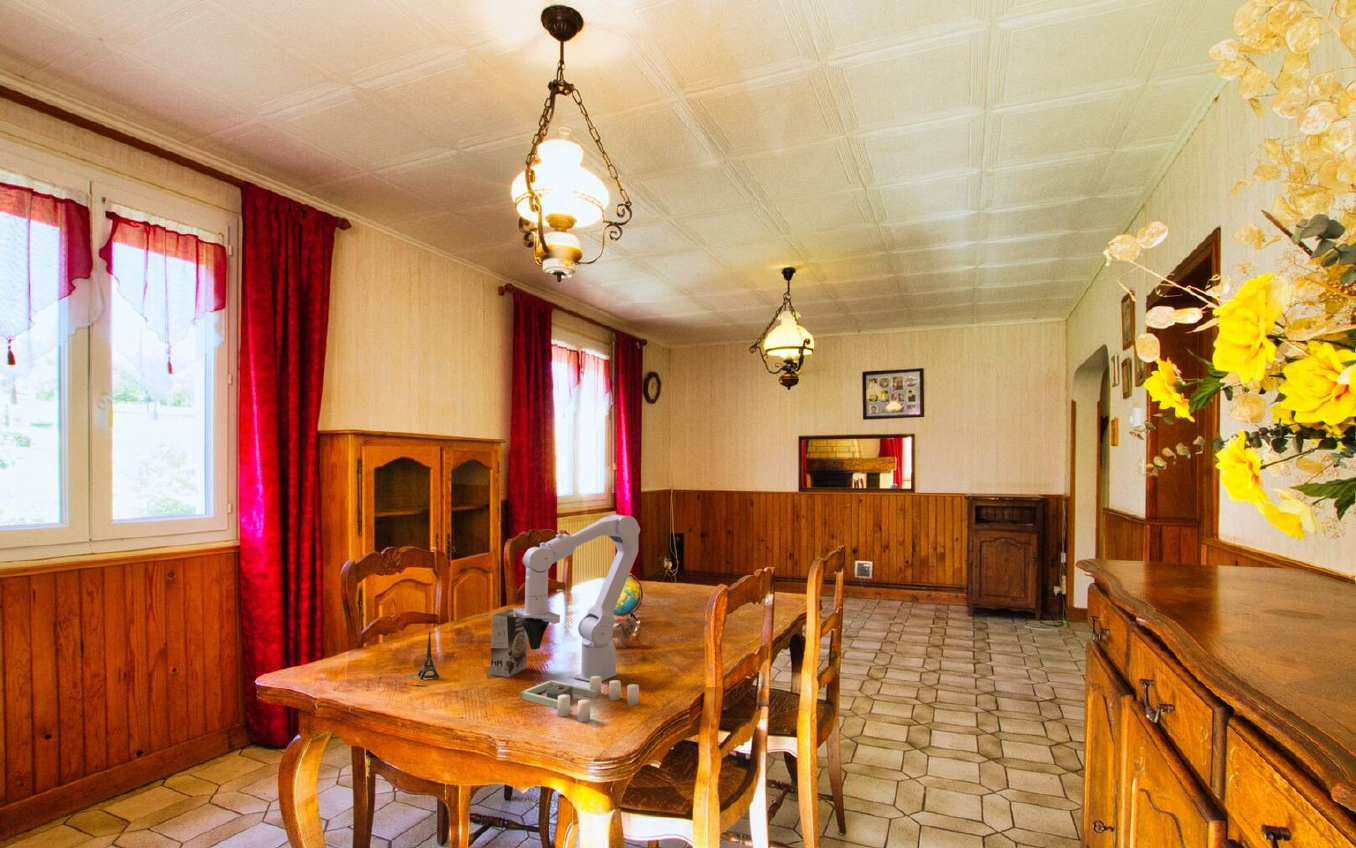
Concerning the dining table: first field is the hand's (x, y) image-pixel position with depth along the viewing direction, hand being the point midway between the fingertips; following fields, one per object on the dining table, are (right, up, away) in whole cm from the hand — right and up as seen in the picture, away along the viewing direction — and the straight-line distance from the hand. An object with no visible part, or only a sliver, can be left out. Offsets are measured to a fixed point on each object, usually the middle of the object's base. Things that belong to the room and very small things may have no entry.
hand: (535, 648), depth 168 cm
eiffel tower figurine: (-31, -11, +8) cm, 34 cm away
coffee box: (-10, -11, +13) cm, 20 cm away
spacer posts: (+17, -9, -14) cm, 24 cm away
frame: (+7, -10, -7) cm, 14 cm away
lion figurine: (+17, -13, +39) cm, 44 cm away
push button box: (+8, -10, -9) cm, 15 cm away
